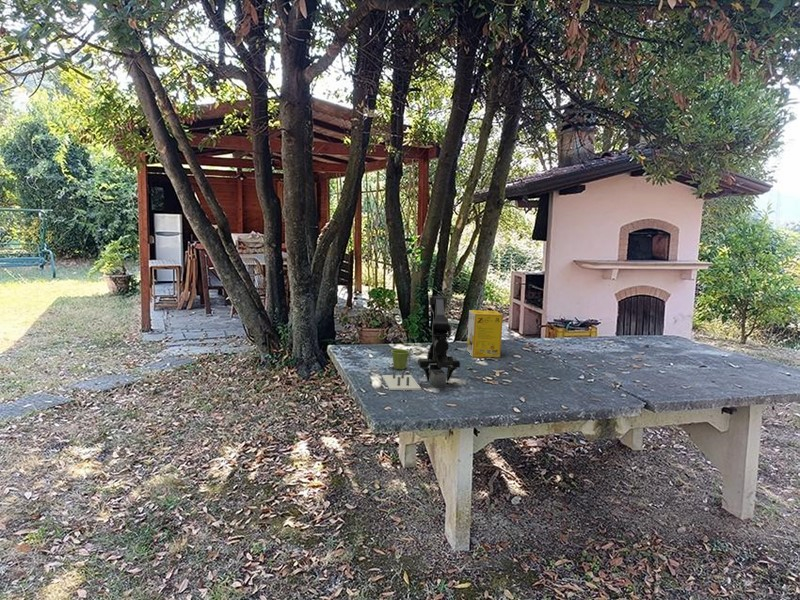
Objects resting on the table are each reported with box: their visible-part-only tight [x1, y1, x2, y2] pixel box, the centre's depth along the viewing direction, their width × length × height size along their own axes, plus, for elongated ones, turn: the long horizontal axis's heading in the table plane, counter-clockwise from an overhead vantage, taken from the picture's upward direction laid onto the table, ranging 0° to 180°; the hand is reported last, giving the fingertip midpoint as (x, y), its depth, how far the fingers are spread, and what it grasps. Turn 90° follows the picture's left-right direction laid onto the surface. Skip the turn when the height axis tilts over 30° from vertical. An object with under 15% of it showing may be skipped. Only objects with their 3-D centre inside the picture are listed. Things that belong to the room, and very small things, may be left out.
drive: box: [429, 368, 447, 388], centre depth 243 cm, size 9×5×6 cm, turn 11°
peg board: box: [381, 369, 422, 392], centre depth 241 cm, size 22×14×4 cm, turn 11°
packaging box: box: [466, 309, 504, 358], centre depth 310 cm, size 16×16×25 cm
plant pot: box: [390, 349, 410, 370], centre depth 269 cm, size 9×9×9 cm
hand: (437, 381), depth 243 cm, fingers open, 9 cm apart
